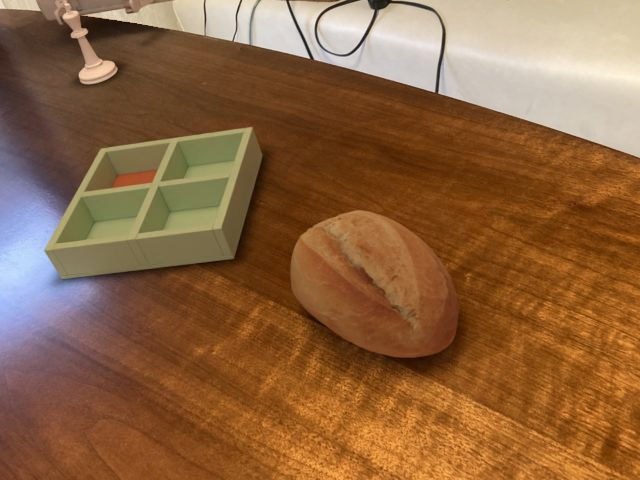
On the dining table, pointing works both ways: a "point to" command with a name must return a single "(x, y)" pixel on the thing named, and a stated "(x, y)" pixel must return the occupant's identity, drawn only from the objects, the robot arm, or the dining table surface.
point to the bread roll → (375, 285)
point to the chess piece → (87, 51)
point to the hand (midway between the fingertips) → (95, 13)
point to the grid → (158, 205)
